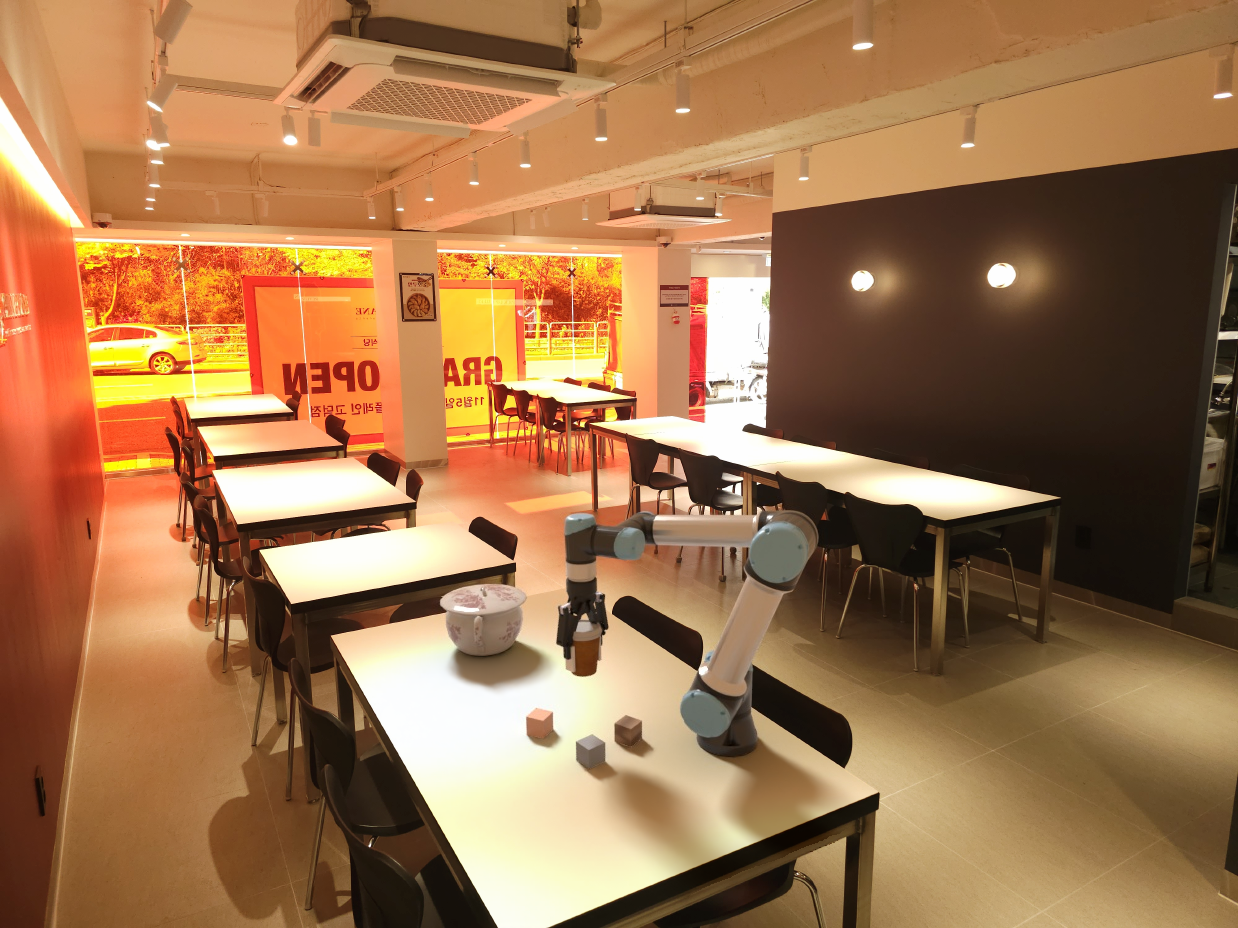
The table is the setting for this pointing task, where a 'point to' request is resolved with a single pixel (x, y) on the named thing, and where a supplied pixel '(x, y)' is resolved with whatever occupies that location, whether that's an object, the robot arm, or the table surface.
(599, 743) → the slate grey cube
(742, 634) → the robot arm
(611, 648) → the table surface
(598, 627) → the disposable coffee cup
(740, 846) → the table surface
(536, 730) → the terracotta cube
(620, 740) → the walnut cube
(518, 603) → the chamber pot
